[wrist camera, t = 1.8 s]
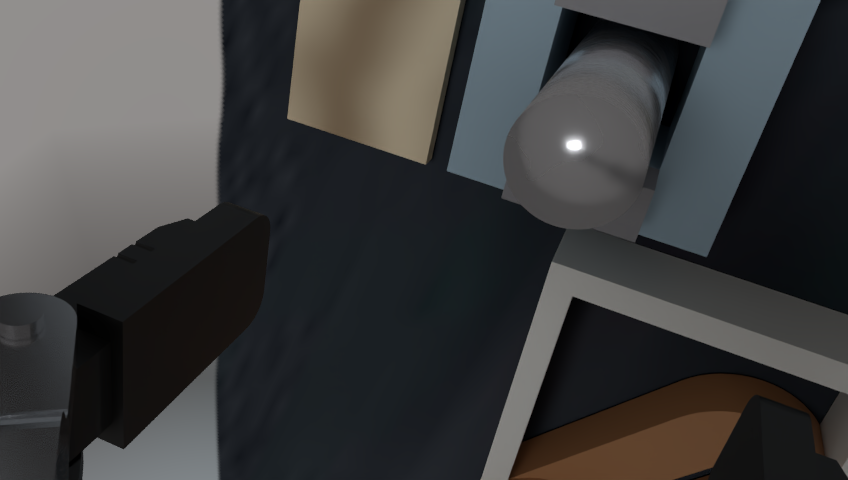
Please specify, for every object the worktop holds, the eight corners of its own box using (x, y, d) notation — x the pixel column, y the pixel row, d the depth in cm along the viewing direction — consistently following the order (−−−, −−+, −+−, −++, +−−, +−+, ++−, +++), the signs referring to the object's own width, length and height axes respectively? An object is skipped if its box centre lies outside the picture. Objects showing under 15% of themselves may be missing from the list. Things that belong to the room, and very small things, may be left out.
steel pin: (692, 19, 29) (668, 119, 18) (660, 108, 31) (619, 247, 20) (600, -6, 30) (522, 75, 19) (573, 83, 32) (488, 203, 21)
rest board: (475, -45, 31) (469, -42, 30) (431, 158, 35) (425, 164, 35) (318, -87, 32) (309, -86, 32) (295, 113, 37) (287, 118, 36)
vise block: (817, -47, 27) (841, -19, 21) (710, 203, 32) (704, 283, 26) (543, -114, 29) (494, -106, 23) (482, 131, 34) (429, 190, 28)
